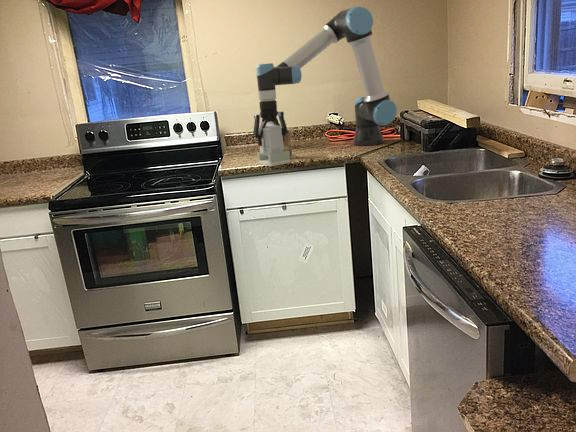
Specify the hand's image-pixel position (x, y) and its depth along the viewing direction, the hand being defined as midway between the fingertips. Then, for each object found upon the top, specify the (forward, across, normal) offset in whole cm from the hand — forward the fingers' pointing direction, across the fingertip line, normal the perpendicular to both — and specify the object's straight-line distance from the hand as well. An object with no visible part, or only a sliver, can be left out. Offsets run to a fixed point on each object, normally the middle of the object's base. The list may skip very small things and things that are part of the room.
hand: (272, 151), depth 232 cm
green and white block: (+5, -1, 0) cm, 5 cm away
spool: (+5, -11, -6) cm, 13 cm away
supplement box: (+1, 0, -1) cm, 2 cm away
